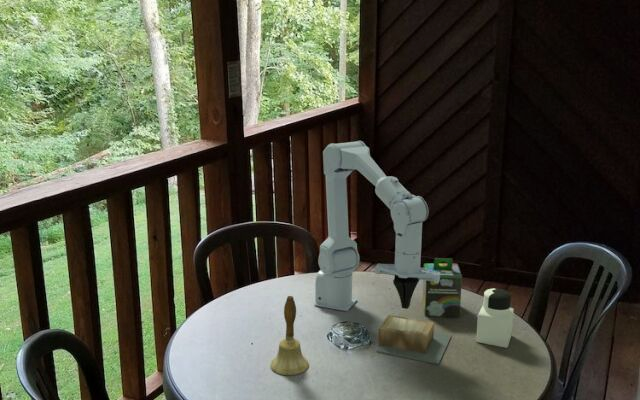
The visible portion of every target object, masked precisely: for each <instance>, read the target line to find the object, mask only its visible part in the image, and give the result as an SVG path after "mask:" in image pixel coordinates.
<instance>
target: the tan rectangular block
mask: <svg viewBox="0 0 640 400" xmlns="http://www.w3.org/2000/svg"><path fill="white" fill-rule="evenodd" d="M434 331H435V322H434V321H433V322H432V321H426V320H423V319H422V320H421V319H416V318H412V317H411V318H410V317H406V316H405V317H404V316H399V315H393V314H388V315H387V317H386V318H385V319H384V321H383V322H382V323H381V325H380V326H379V328H378V338H377V339H378V345H379V346H380V345H384V346H389V347H394V348H399V349H404V350H409V351H414V352H419V353H424V354H426V352H427V350H428V348H429V346H430V344H431V342H432V340H433V336H434V333H435V332H434Z"/></svg>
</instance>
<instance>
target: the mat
mask: <svg viewBox="0 0 640 400" xmlns="http://www.w3.org/2000/svg"><path fill="white" fill-rule="evenodd" d="M451 338H452V335H450V334H444V333H439V332H434V336H433V340H432V342H431V344H430V346H429V348H428V350H427V352H426V354H424V353H419V352H414V351H409V350H404V349H399V348H394V347H389V346H384V345H379V347H378V348H377V350H376V352H377V353H380V354H386V355H389V356H395V357H399V358H404V359H409V360H414V361H419V362H424V363H428V364H434V365H437V366H439V365H440V362H441V360H442V358H443V356H444V353H445V351H446V350H447V347H448V344H449V343H450V340H451Z"/></svg>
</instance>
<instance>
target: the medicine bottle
mask: <svg viewBox="0 0 640 400" xmlns="http://www.w3.org/2000/svg"><path fill="white" fill-rule="evenodd" d="M511 303H512V295H511V293H510V292H509V291H507V290H505V289H501V288H496V287H495V288H489V289H488V288H487V289H486V290H485V291H484V292H483V303H482V306H481V308H480V310H479V312H478V315H477V323H476V324H477V326H476V337H475V338H476V339H475V341H476V342H477V343H479V344H484V345H490V346H495V347H499V348H504V349H507V348H508V347H509V345H510V341H511V338H512V335H513V322H514V315H515V314H514V311H515V310H514V307H511Z"/></svg>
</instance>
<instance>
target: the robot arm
mask: <svg viewBox="0 0 640 400" xmlns="http://www.w3.org/2000/svg"><path fill="white" fill-rule="evenodd" d="M322 160H323V161H322V163H323V164H322V165H323V175H325V176H324V177H325V190H326V191H325V194H326V195H325V196H326V209H327V211H326V212H327V213H326V214H327V215H326V216H327V231H328V232H327V233H328V236H327V238H326V239H325V240H324V241H323V242H322V243H321V245H320V246H319V255H318V260H317V262H318V266H319V269H320V270H318V272H317V274H316V277H315V285H314V286H315V293H314V294H315V300H314V301H315V303H313V305H314V306H316V307H320V308H321V307H322V308H327V309H332V310H337V311H338V310H339V311H342V312H343V311H344V312H348V311H349V310H350V309H351V308H352V307H353V306H354V305H355V303H356V302H357V301H358V299H357V298H356V297H353V273H355V271H356V268H357V267H358V266H359V264H360V253H359V251H358V247H357V242H356V241H355V240H354V239H353V238H351V237H350V236H349V235H350V234H349V231H350V230H349V215H348V214H349V213H348V212H349V211H348V210H349V209H348V191H347V186H348V185H347V177H349V175H351V173H352V172H353V171H355V170H357V171H358V172H359V173H360V174H361V175H363V176H364V177H365V179H367V180H368V181H369V182H370V183H371V185H373V186H375V189H374V192H375V194H376V196H377V197H378V198H379V199H380V201H382V203H384V205H385V206H386V207H387V208H388V209H389V210H390V217H391V219H392V222H393V229H394V232H395V244H394V245H395V246H394V247H395V250H394V263H377V264H376V265H375V266H374V267H375V268H374V269H375V271H374V274H375V275H388V276H394V279H393V280H392V283H393V285H394V287H395V289H396V291H397V294H398V296H399V299H400V305H401V309H405V310H407V309H409V308H410V306H411V302H412V301H411V300H412V297H413V295H414V292H415V290H416V288H417V285H418V284H419V281H420V280H421V281H423V280H427V281H433V282H434V283H438V282H439V281H440V272H435V271H431V270H428V269H424V267H421V260H422V259H421V257H422V256H421V255H422V239H423V238H422V237H423V236H422V235H423V222H425V221H426V220H427V219H428V216H429V212H430V211H429V207H428V204H427V201H425V199H424V198H423V197H422V196H420V195H417V196H416V195H414V194H412V193H411V192H410V191H408V190H407V188H405V187H404V186H403V185H402V183H400V182H399V179H398V178H397V177H396V176H392V175H391V176H389V175H388V176H387V175H386V174H385V172H384V171H383V169H381V168H380V167H379V165H378V164H377V163H376V162H375V160H374V159H373V158H372V157H371V153H370V147H368V146H367V145H366V144H365V142H364V141H362V140H357V141H348V142H340V143H329V144H327V146H326V147H325V149H323V151H322Z"/></svg>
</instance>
